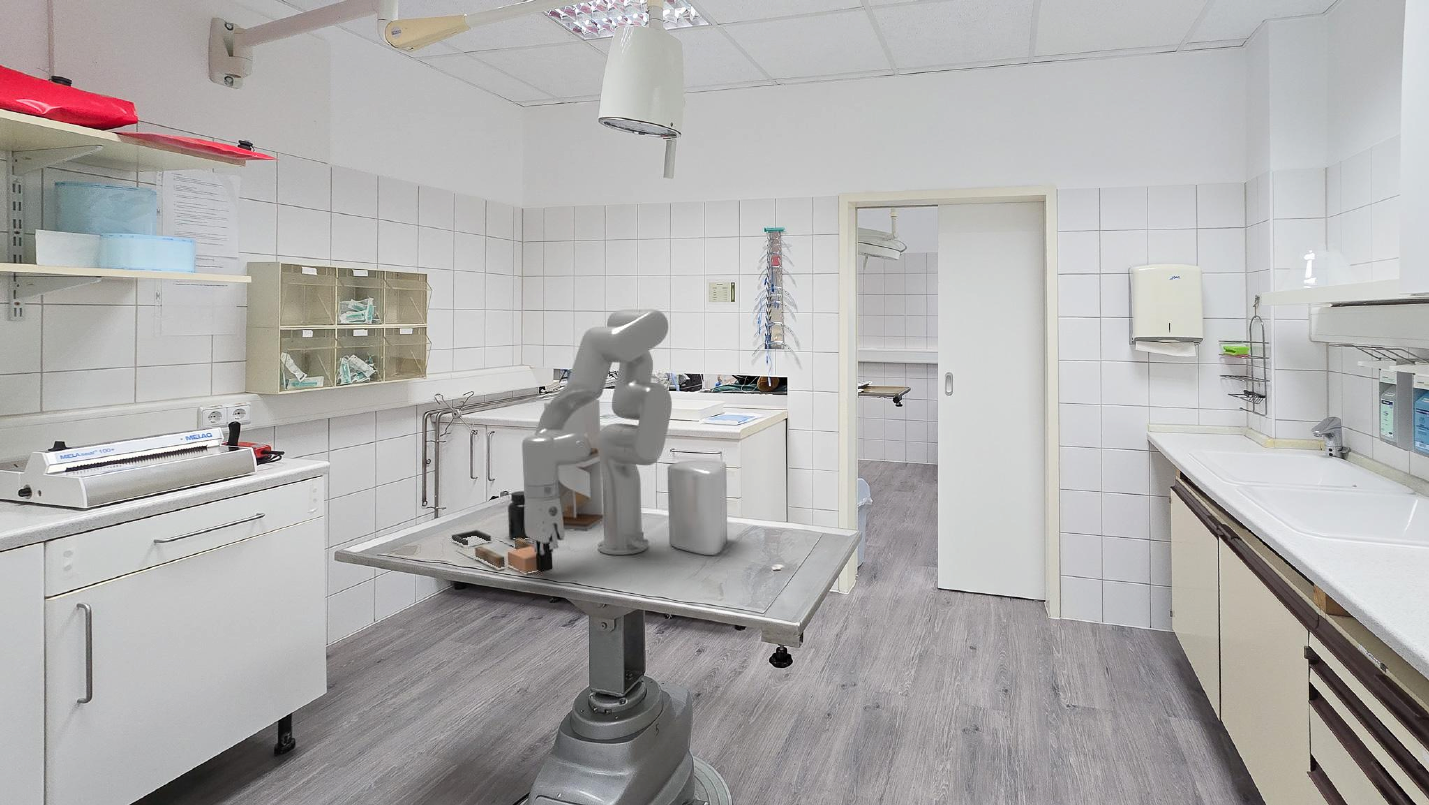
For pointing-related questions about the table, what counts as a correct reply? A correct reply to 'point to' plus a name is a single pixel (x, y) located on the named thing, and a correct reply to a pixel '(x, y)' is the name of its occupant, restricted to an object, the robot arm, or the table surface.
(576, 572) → the table surface
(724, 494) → the grey rounded upright block
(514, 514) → the supplement bottle
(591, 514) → the display case
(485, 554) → the channel
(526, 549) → the block
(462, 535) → the black u-shaped bracket
